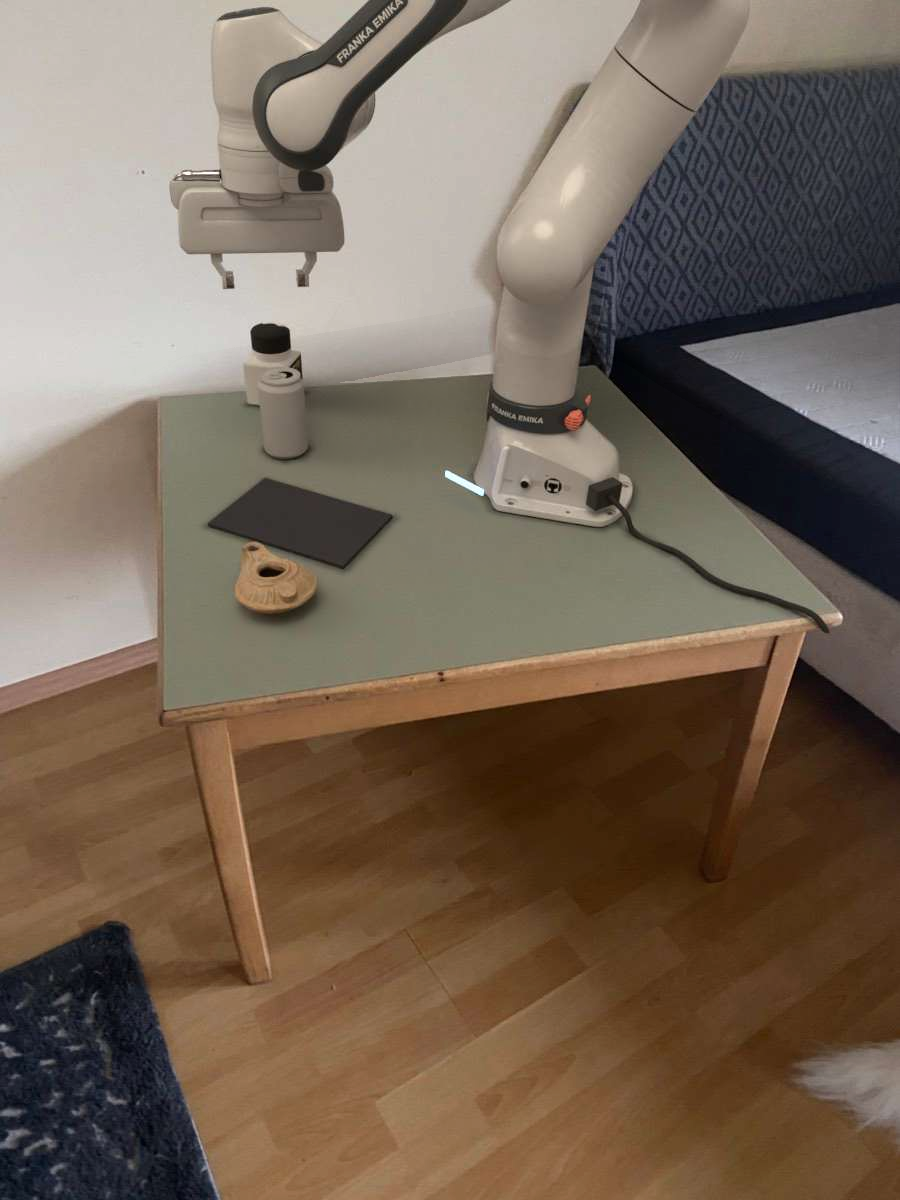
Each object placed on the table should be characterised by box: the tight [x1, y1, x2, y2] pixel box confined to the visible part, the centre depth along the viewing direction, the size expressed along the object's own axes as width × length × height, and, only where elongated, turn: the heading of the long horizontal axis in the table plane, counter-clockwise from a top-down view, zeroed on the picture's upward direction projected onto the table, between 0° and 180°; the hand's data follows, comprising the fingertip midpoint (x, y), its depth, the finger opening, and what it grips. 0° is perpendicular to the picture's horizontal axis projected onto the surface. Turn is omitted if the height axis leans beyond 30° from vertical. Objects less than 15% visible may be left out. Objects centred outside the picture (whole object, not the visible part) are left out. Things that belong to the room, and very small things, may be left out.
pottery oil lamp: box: [234, 541, 319, 614], centre depth 100 cm, size 9×12×7 cm
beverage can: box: [257, 367, 309, 460], centre depth 125 cm, size 6×6×12 cm
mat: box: [207, 477, 393, 570], centre depth 114 cm, size 20×13×1 cm, turn 66°
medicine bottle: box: [242, 321, 304, 407], centre depth 138 cm, size 7×7×12 cm
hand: (266, 286), depth 113 cm, fingers open, 8 cm apart
